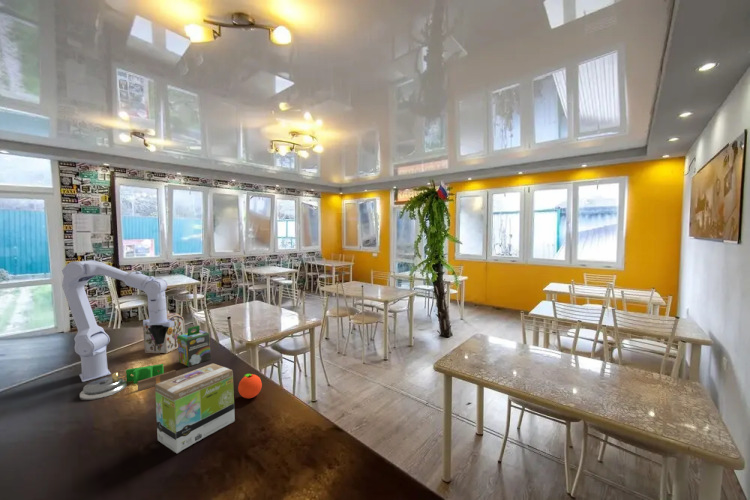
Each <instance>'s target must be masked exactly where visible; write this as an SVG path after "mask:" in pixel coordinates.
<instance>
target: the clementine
mask: <svg viewBox="0 0 750 500" xmlns="http://www.w3.org/2000/svg"><path fill="white" fill-rule="evenodd" d="M262 386H263V383H262V380H261V377H260V376H258V375H256V374H253V373H246V374H244V375H243V377H242V378H241V380H240V381H239V383H238V387H237V391H238V393H239V395H240V396H241V397H242V398H244V399H252V398H255V397H257V396H258V395H259V393H260V392H261V390H262V388H263V387H262Z"/></svg>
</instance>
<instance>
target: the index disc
mask: <svg viewBox="0 0 750 500" xmlns="http://www.w3.org/2000/svg"><path fill="white" fill-rule="evenodd" d="M123 378H126V375H123V376H121V375H119V373H118V371H117V372H113V373H111V376H105V377H101V378H97V380H95V379H94V381H90V382H88V383H87V384H86V385H84V386H83V388H82V391H83V390H84V394H87V395H91V394H98V393H103V392H106V391H109V390H112V389H114V388H116V387H118V386H120V385H121V384H122V383H123V380H124V379H123Z"/></svg>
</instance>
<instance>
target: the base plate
mask: <svg viewBox="0 0 750 500" xmlns="http://www.w3.org/2000/svg"><path fill="white" fill-rule="evenodd" d="M127 386H128V382H127V380H124V379H123V383H122V384H121V385H120V386H118V387H116V388H114V389H112V390H109V391H106V392H103V393H98V394H91V395H87V394H84V390H83V389H82V391H81V392H79V399H80V400H81V401H92V400H99V399H102V398H106V397H108V396H111V395H114V394H116V393H119V392H121V391H122V390H124V389H125V388H126V387H127Z"/></svg>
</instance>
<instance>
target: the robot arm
mask: <svg viewBox="0 0 750 500" xmlns="http://www.w3.org/2000/svg"><path fill="white" fill-rule="evenodd" d="M61 272H62V274H63V278H62V284H61V285H62V286H61V287H62V290H63V293H64V296H65V299H66V302H67V304H68V307H69V310H70V313H71V315H72V318H73V320H74V323H75V326H76V329H77V332H76V334H75V336H74V338H73V340H74V352H75V353H76V354H77V355H79V357H80V364H81V373H80V374H79V378H80V379H81V382H82V383H85V382H87V381H92V380H95V379H100V378H104V377H107V376H109V375H112V372H110V369H108V357H107V346H108V345H109V343H110V341H111V338H110V335H108V333H106V332H105V331H106V330H104V327H102V326H100V325H98V323H97V320H96V317H95V315H94V312H93V309H92V306H91V303H90V300H89V298H88V295H87V292H86V289H85V286H86V284H88V282H90V280H91V279H93V278H94V277H96V276H99V275H102V276H105V277H107V278H112V279H116V280H119V281H123V282H124V284H125V286H128V287H130V288H134V289H137V290H140V291H143V292H144V293H145V294H146V296H147V305H148V318H149V319H148V318H147V319H143V320H142V326H143V325H152V326H151V327H150V328H148V330H149V331H150V332H151V334H152V335H153V337H154V340H155V342H156V345H160V344H163V343H164V339H165V335H166V332H167V330H168V328H169V327H173V326H175V325H174V321H171V320H168V319H167V310H168V309H167V301H166V300H167V298H166V297H167V296H166V290H167V289H168V282H167V281H166V280H165V279H163V278H161V277H158V278H155V277H154V276H153V275H151V276H149V275H145V274H144V273H142V271H139V270H137V271H131V272H128V271H124V270H122V269H119V268H117V267H115V266H113V265H109V264H106V263H104V262H103V261H97V260H95V259H89V260H88V259H87V260H81V261H80V260H79V261H76V260H75V261H70V262H69V263H67V264H66V265H65V266H64V267H63V268H62V270H61Z"/></svg>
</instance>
